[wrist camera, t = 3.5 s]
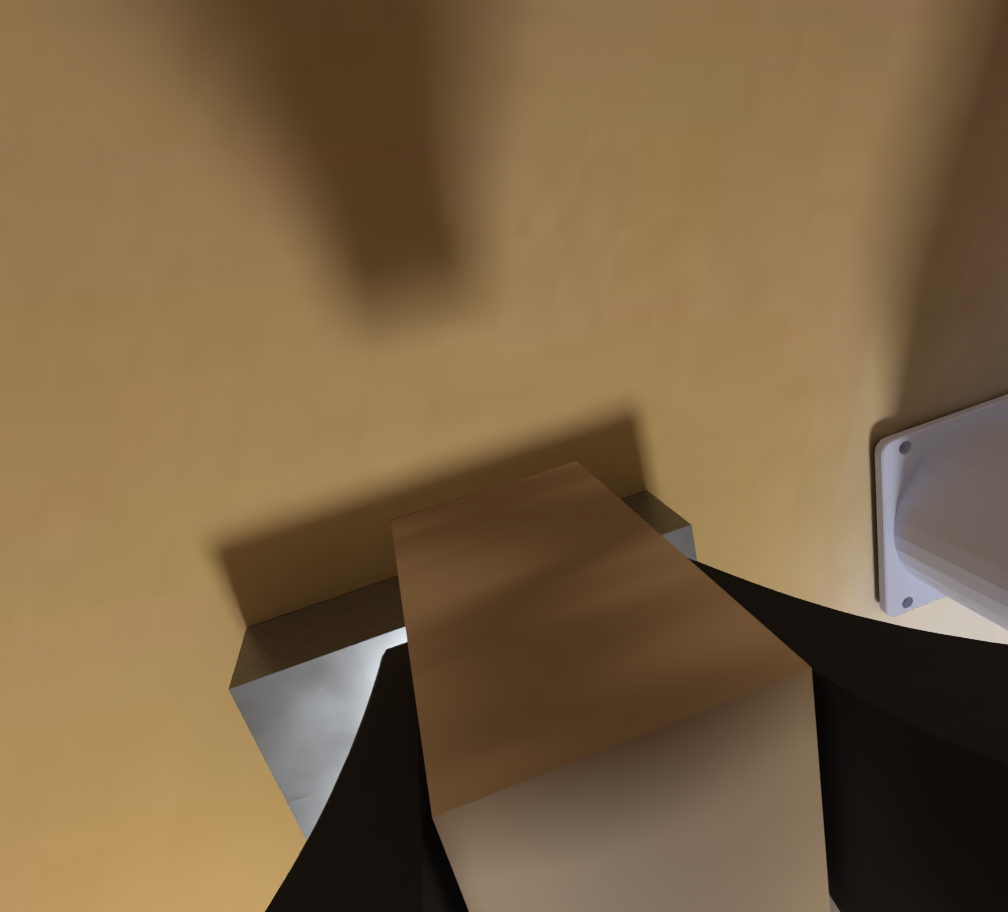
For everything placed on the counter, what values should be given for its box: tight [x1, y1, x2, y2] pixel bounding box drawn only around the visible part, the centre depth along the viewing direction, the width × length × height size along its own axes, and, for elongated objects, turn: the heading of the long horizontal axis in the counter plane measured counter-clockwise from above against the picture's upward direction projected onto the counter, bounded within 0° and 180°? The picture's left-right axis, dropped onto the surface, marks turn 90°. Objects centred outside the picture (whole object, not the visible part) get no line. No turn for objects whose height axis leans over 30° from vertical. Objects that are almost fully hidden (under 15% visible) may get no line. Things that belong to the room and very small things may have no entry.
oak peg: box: [390, 461, 830, 912], centre depth 10 cm, size 4×4×7 cm
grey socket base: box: [229, 491, 697, 840], centre depth 21 cm, size 14×14×3 cm
